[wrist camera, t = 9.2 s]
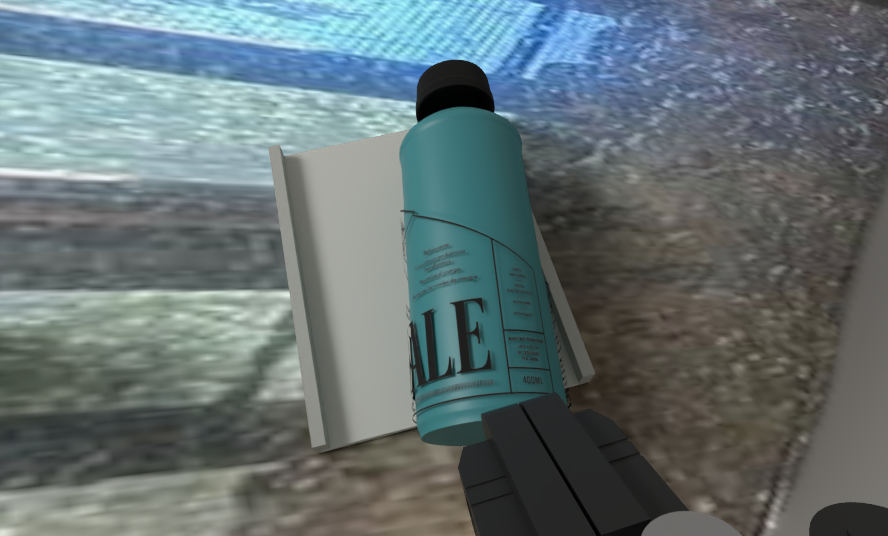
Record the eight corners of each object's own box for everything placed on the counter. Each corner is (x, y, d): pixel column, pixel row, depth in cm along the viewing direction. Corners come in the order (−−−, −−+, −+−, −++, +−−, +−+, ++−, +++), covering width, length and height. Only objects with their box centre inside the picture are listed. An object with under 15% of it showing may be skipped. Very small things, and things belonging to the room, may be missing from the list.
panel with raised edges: (589, 382, 27) (595, 373, 26) (319, 453, 26) (311, 447, 25) (488, 117, 35) (489, 100, 33) (275, 162, 33) (268, 147, 32)
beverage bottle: (582, 470, 25) (519, 110, 33) (580, 451, 19) (504, 20, 27) (436, 486, 26) (412, 134, 34) (391, 473, 20) (375, 52, 29)
